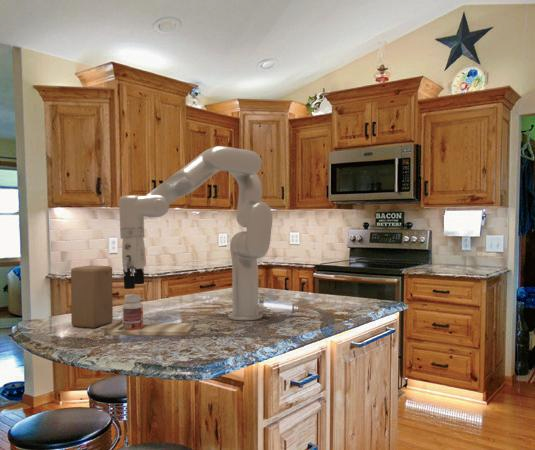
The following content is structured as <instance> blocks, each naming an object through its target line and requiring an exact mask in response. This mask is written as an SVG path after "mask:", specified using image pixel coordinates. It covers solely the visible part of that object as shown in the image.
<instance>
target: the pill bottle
mask: <svg viewBox="0 0 535 450" xmlns="http://www.w3.org/2000/svg"><path fill="white" fill-rule="evenodd" d="M141 301H142V295H141V294H138V293H135V294H134V293H133V294H131V293H130V294H125V295H124V302H125V303H124V304H123V305H122V320H123V330H142V329H143V323H144V314H143V313H144V308H143V307H144V305H143V303H142V302H141Z"/></svg>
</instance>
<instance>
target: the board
mask: <svg viewBox="0 0 535 450" xmlns="http://www.w3.org/2000/svg"><path fill="white" fill-rule="evenodd" d="M195 326H196V324H195V322H189V323H187V322H175V323H174V322H143V329H142V330H123V319H116V320H114V321H112V322H111V323H109V324H107V326H106V325H105V326H104V329H103V331H104V332H103V334H104V336H173V337H174V336H178V337H179V336H186V337H187V336H188V335H189V334H190V333H191V332H192V330H193V329H194V328H195Z"/></svg>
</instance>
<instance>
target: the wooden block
mask: <svg viewBox="0 0 535 450" xmlns="http://www.w3.org/2000/svg"><path fill="white" fill-rule="evenodd" d="M70 280H71V281H70V282H71V283H70V292H71V293H70V296H71V297H70V298H71V300H70V301H71V307H70V308H71V311H70V313H71V315H70V316H71V326H72V327H75V326H76V328H88V329H89V328H91V329H95V328H99V327H102V326H104V325H105V326H106V325H109V324H111V323H113V321H114V320H113V315H114V313H113V305H114V304H113V302H114V301H113V267H112V266H111V265H85V266H76V267H73V268H71V269H70Z"/></svg>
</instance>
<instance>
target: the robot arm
mask: <svg viewBox="0 0 535 450" xmlns="http://www.w3.org/2000/svg"><path fill="white" fill-rule="evenodd" d="M261 168H262V159H261V157H260V155H259V154H258V153H257V152H255V151H254V150H251V149H250V150H249V149H244V148H237V147H236V148H235V147H230V146H225V145H224V146H222V145H217V146H213V147H211V148H208V149H207V150H204V151H203V152H201V153H200V154H198V155H197V156H196V157H194V158H193V159H192V160H191V161H190V162H189V163H187V164H186V165H184V166H183V167H182V168H180V169H179V170H178V171H177V172H175V173H173V174H172V175H171V176H170V177H169V178H168V179H166V180H165V181H163V182H162V183H160V184H159V185H157V186H156V187H155V188H153V189H152V190H151V191H150V192H148V193H147V194H145V195H141V196H140V195H130V194H129V195H122V196H120V197H119V199H118V212H119V227H120V228H119V232H120V233H119V235H120V239H121V240H122V242H121V243H122V245H121V247H122V249H121V258H122V260H121V261H122V268H123V269H122V271H123V274H122V276H123V287H124V290H130V289H135V288H136V285H144V284H145V271H144V270H145V269H144V268H145V267H146V265H147V260H146V259H147V258H146V249H145V241H144V239H145V238H146V237H145V236H146V235H145V217H146V218H161V217H163V216H165V215H166V214H167V213H168V212H169V208H170V204H172V203H173V202H174V201H176V200H178V199H180V198H182V197H184V196H187V195H189V194H190V193H193V192H194V191H196V190H197V189H198V188H199V187H200V186H202V185H203V184H204V183H205V182H206V181H208V180H209V179H211V178H212V177H213V176H215V175H216V174H217V173H219V172H222V171H223V172H228V173H229V174H230V175H231V176H232V177H233V178H234V180H235V181H236V182H237V186H238V199H237V206H236V207H237V209H236V215H235V216H236V217H235V218H236V221H237V223H238V225H239V226H241V227H243V228H246V230H245V231H239V232H237V233H235V234H234V235H233V236H232V237H231V239H230V244H229V251H230V257H231V266H232V268H231V269H232V270H231V271H232V273H231V274H232V275H231V276H232V282H231V283H232V287H231V288H232V291H231V292H232V312H230V313H228V315H227V317H228V319H230V320H233V321H240V322H241V321H243V322H244V321H255V320H260V319H262V318H263V313H264V314H271V307H267V306H264V307H263V306H260V305H261V304H260V303H259V265H258V260H257V259H261V258H264V257H265V256H266V255H267V253H268V251H269V249H270V244H271V235H272V229H273V228H272V227H273V212H272V209H271V207H270V206H269V205H268V204H267V203H265V202H264V201H262V195H263V194H262V193H263V188H262V187H263V185H262V183H261V179H260V177H259V176H258V174H257V173H258V172H259V171H260V170H261Z"/></svg>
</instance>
